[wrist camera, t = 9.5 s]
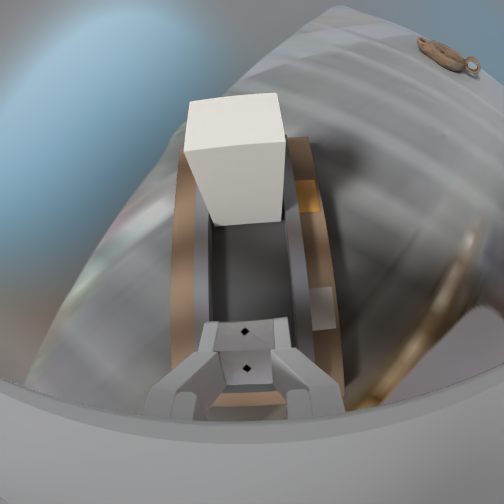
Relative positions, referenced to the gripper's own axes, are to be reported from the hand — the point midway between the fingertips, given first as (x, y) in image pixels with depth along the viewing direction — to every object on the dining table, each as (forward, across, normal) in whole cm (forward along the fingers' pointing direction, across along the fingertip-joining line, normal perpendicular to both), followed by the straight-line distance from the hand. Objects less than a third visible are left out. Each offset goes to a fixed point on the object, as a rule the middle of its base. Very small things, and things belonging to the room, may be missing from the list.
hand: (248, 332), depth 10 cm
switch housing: (+12, 0, +4) cm, 13 cm away
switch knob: (+14, 0, -1) cm, 14 cm away
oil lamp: (+38, -37, -20) cm, 57 cm away
